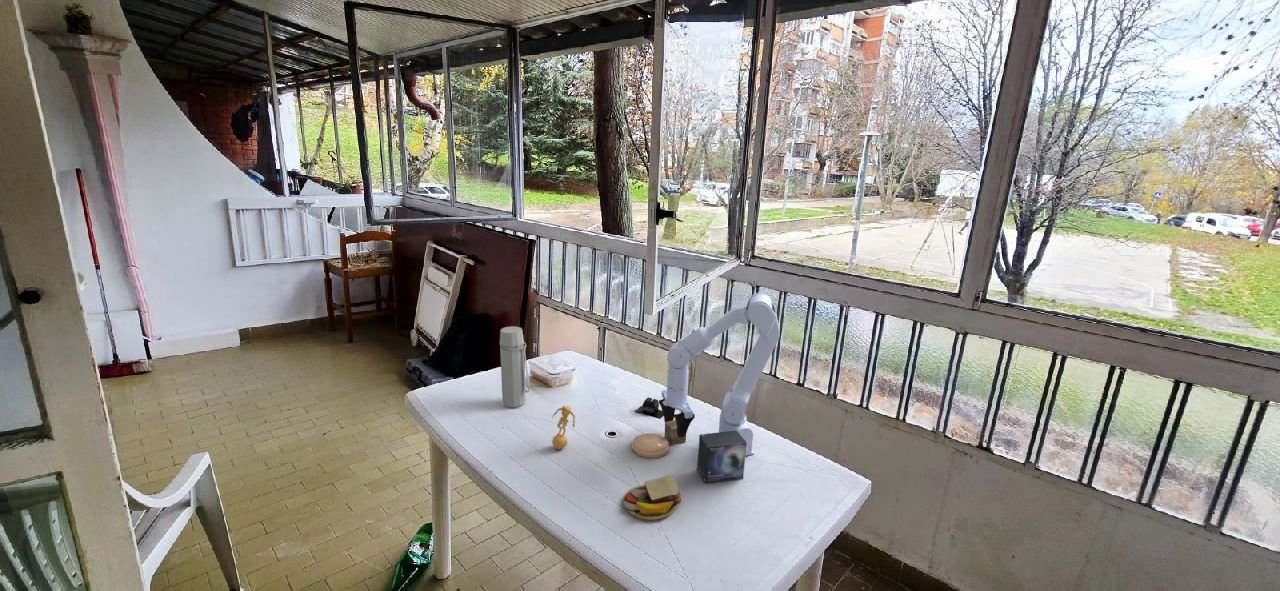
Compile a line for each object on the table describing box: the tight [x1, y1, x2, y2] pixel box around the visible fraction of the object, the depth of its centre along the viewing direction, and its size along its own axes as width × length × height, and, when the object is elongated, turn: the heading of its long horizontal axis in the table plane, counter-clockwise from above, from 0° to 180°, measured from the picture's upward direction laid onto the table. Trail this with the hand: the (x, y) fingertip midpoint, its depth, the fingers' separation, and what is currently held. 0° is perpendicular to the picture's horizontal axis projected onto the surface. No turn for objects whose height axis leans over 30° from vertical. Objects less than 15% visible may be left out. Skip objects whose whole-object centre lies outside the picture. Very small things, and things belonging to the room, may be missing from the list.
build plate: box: [634, 396, 664, 420], centre depth 169 cm, size 12×7×5 cm, turn 63°
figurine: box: [551, 405, 576, 450], centre depth 147 cm, size 8×6×12 cm
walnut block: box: [663, 419, 687, 446], centre depth 153 cm, size 4×4×5 cm
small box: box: [696, 430, 747, 484], centre depth 136 cm, size 11×6×10 cm, turn 106°
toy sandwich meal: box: [622, 474, 682, 521], centre depth 125 cm, size 12×14×5 cm
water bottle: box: [499, 326, 531, 409], centre depth 169 cm, size 9×8×25 cm
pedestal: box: [631, 433, 670, 459], centre depth 149 cm, size 10×10×2 cm
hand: (675, 430), depth 153 cm, fingers open, 7 cm apart
